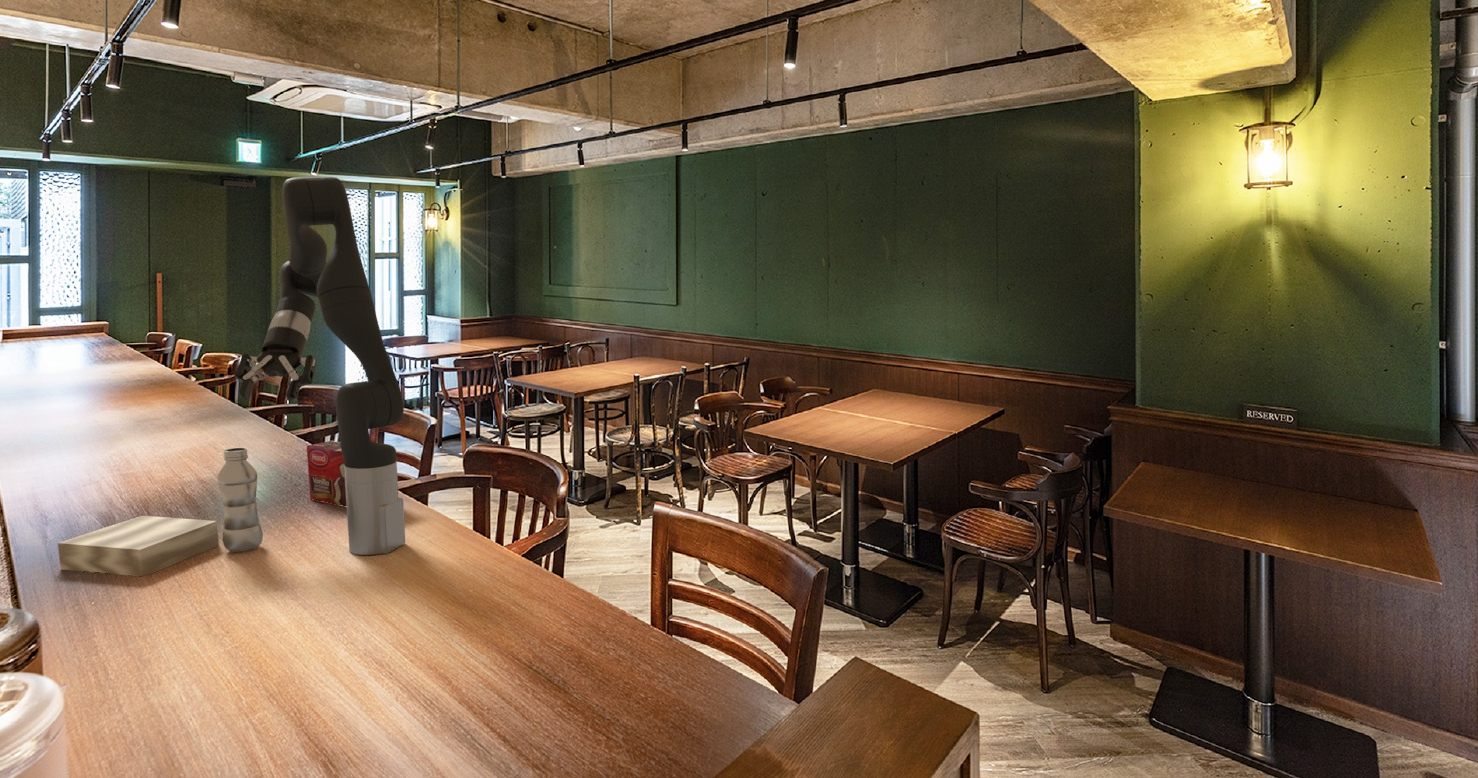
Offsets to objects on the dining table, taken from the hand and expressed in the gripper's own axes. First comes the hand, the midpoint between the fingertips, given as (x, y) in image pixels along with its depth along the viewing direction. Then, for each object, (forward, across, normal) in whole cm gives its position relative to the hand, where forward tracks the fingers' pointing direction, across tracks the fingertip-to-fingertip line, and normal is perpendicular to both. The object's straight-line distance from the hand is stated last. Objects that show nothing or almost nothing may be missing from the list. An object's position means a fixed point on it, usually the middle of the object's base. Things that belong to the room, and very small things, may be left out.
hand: (267, 398), depth 152 cm
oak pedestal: (+31, -17, +8) cm, 36 cm away
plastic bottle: (+29, 0, +10) cm, 31 cm away
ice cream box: (+9, +9, +33) cm, 35 cm away
